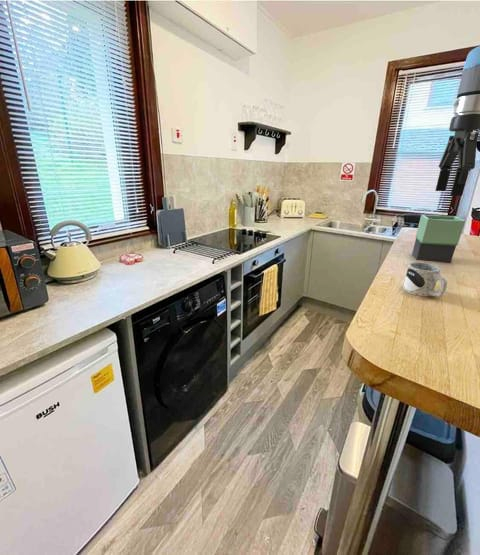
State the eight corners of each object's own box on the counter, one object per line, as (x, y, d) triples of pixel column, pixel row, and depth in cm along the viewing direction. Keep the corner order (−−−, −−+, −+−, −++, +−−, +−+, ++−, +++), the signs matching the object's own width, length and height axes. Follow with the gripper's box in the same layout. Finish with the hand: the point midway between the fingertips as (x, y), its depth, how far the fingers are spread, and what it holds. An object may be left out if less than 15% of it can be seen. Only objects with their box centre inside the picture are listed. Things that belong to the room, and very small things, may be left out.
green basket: (448, 239, 94) (455, 216, 91) (457, 245, 87) (465, 220, 84) (415, 237, 97) (421, 214, 94) (421, 243, 90) (428, 218, 87)
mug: (397, 286, 73) (402, 263, 70) (417, 284, 74) (423, 261, 72) (429, 304, 64) (437, 278, 61) (452, 300, 65) (460, 275, 63)
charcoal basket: (444, 256, 96) (449, 240, 93) (450, 262, 90) (456, 245, 88) (411, 254, 99) (416, 237, 96) (416, 259, 93) (420, 242, 91)
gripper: (438, 121, 89) (422, 189, 97) (471, 108, 67) (448, 197, 75) (465, 119, 87) (447, 189, 95) (509, 106, 65) (480, 198, 73)
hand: (447, 193), depth 85 cm, fingers open, 13 cm apart
